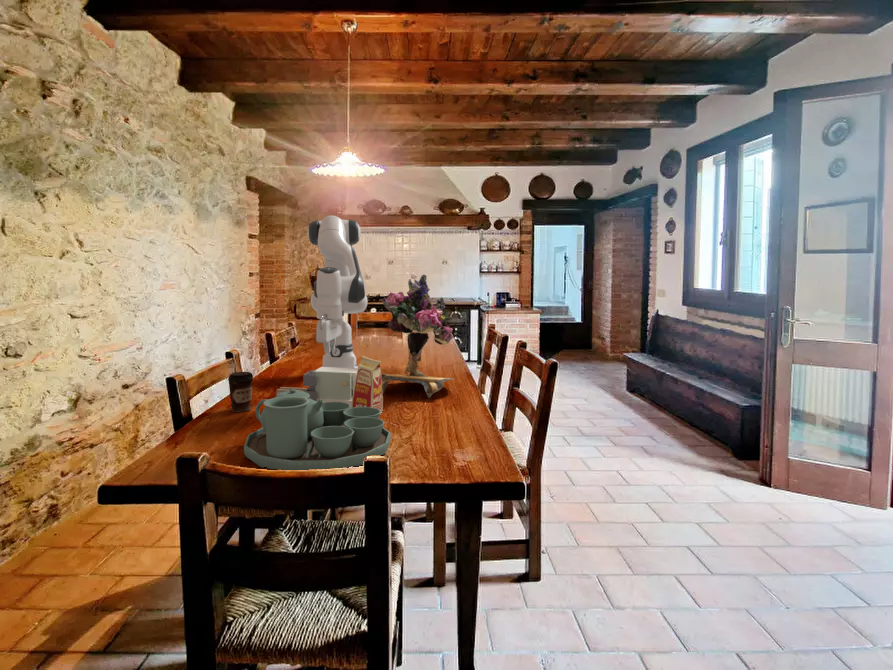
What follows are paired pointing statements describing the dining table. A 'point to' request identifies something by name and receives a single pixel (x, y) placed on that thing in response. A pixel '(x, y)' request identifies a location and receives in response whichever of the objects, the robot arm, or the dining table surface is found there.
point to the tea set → (314, 433)
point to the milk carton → (368, 385)
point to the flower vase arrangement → (423, 319)
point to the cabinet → (311, 379)
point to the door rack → (284, 389)
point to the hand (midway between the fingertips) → (329, 351)
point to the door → (332, 385)
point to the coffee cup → (240, 390)
